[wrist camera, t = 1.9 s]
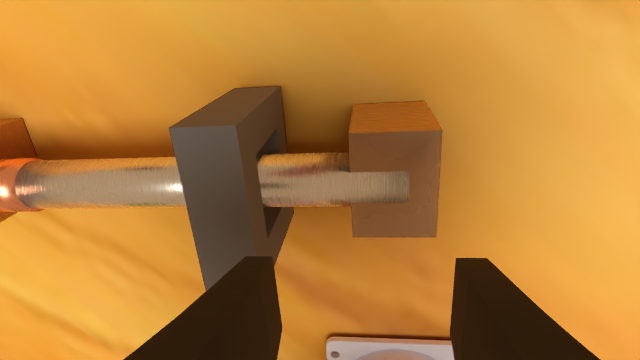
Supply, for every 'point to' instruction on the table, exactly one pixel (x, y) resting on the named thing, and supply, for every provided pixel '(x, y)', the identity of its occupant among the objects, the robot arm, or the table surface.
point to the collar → (231, 178)
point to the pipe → (273, 169)
